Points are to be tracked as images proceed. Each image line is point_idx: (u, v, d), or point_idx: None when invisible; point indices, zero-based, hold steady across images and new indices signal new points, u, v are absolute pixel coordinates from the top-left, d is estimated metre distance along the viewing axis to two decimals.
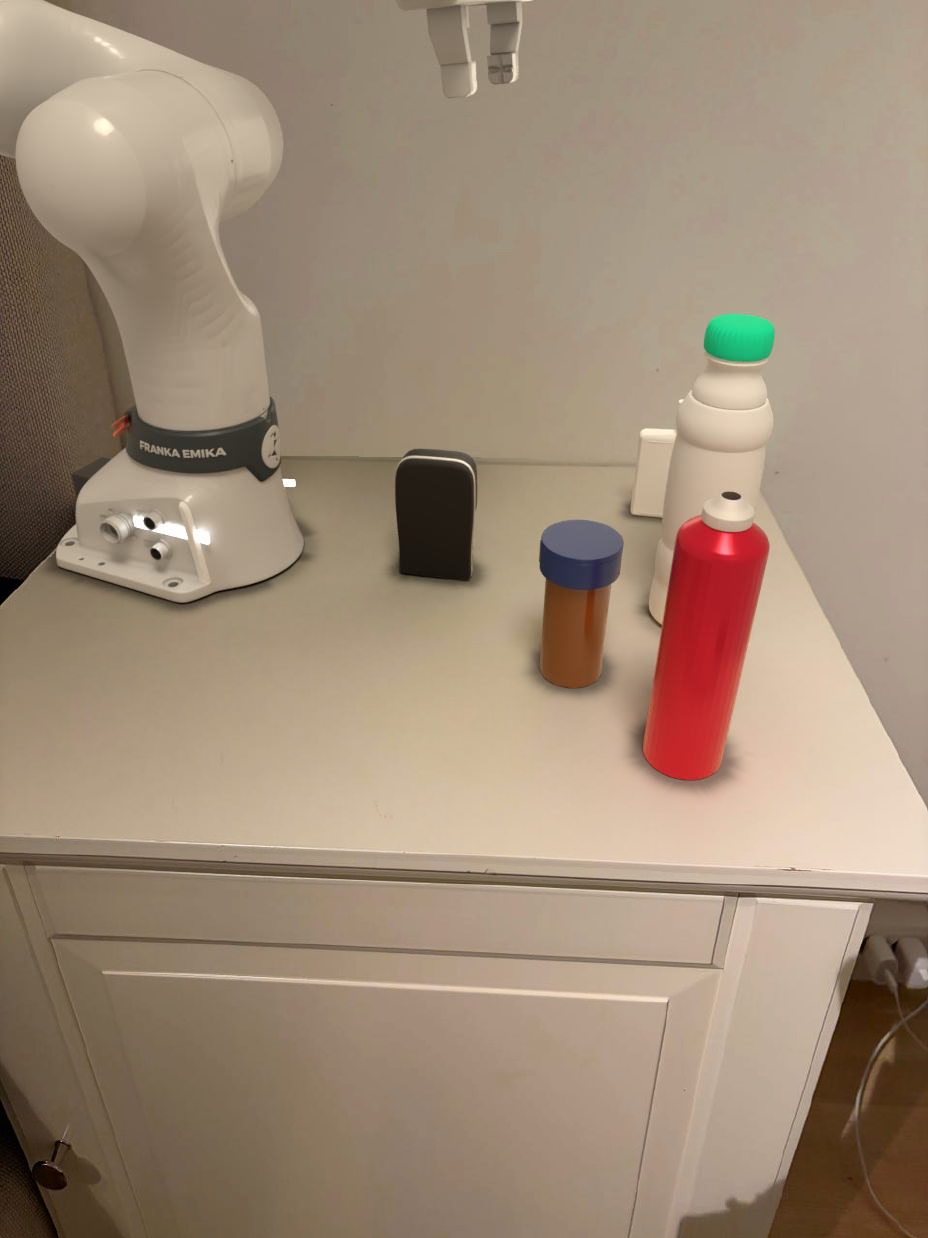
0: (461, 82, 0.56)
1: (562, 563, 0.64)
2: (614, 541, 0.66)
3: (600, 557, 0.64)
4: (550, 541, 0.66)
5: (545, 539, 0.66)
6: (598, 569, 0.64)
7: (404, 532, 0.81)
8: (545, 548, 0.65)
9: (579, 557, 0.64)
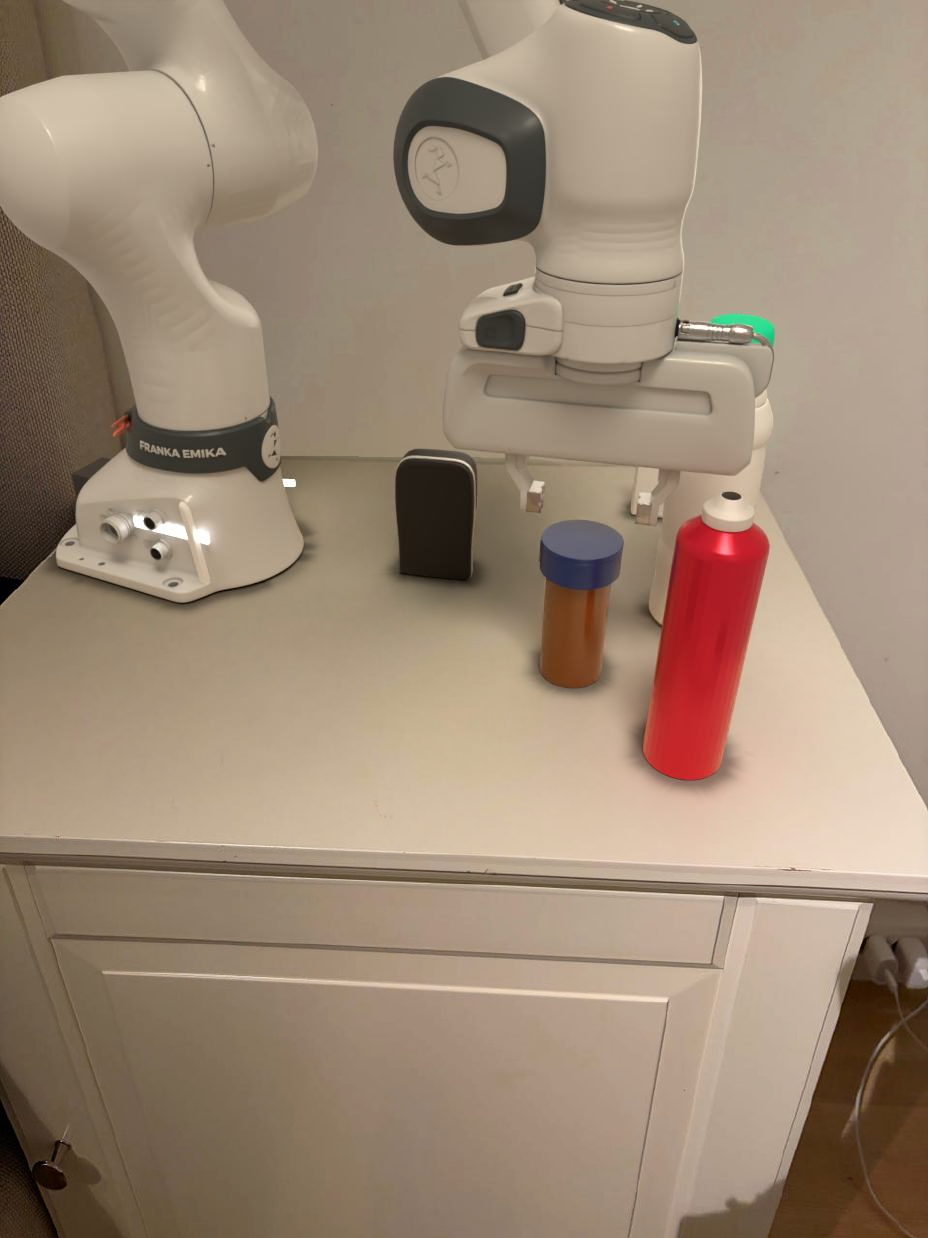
0: None
1: (562, 563, 0.64)
2: (614, 541, 0.66)
3: (600, 557, 0.64)
4: (550, 541, 0.66)
5: (545, 539, 0.66)
6: (598, 569, 0.64)
7: (404, 532, 0.81)
8: (545, 548, 0.65)
9: (579, 557, 0.64)
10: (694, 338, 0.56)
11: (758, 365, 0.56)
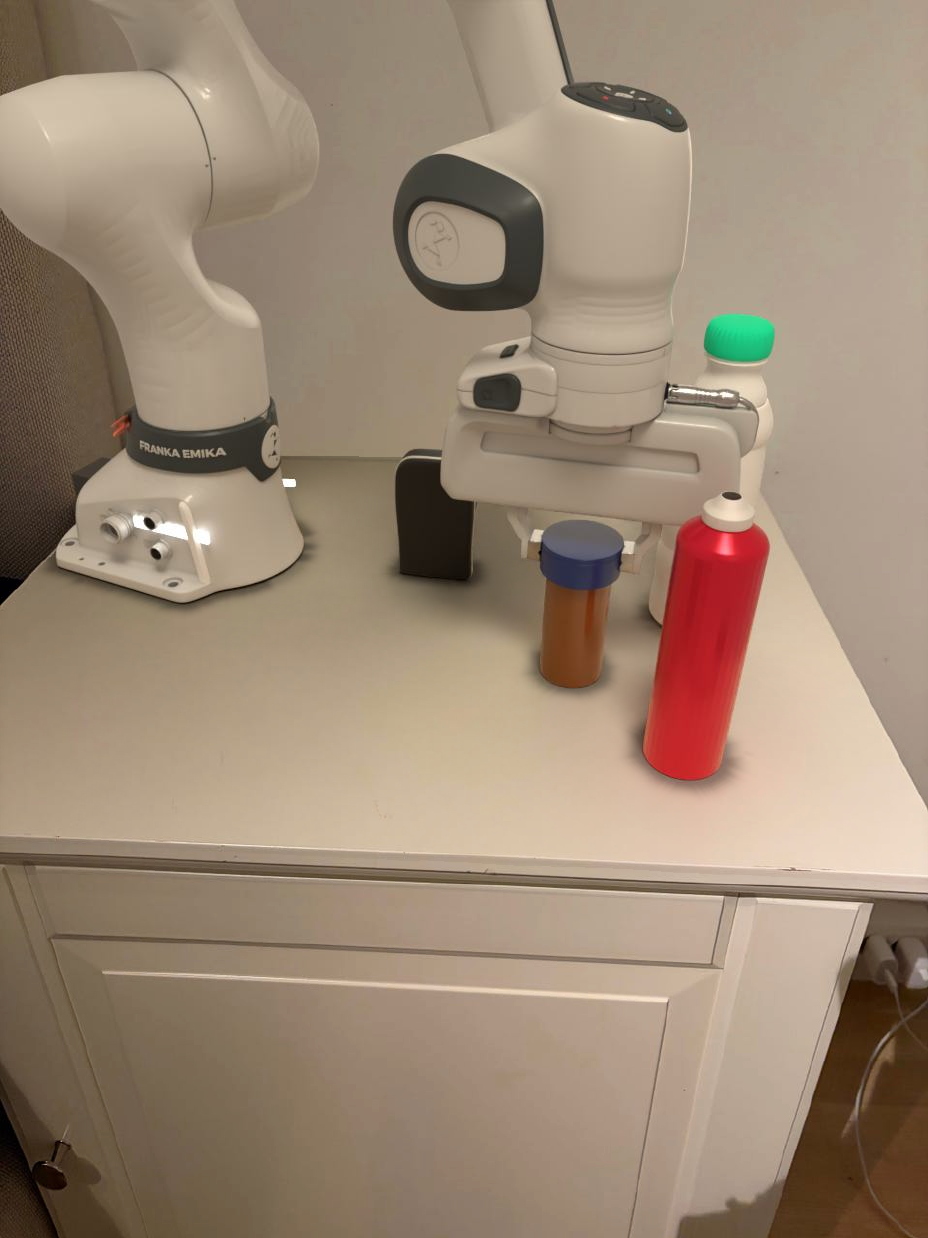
0: None
1: (562, 563, 0.64)
2: (614, 541, 0.66)
3: (601, 557, 0.64)
4: (550, 541, 0.66)
5: (545, 539, 0.66)
6: (598, 569, 0.64)
7: (404, 532, 0.81)
8: (545, 548, 0.65)
9: (579, 557, 0.64)
10: (682, 401, 0.59)
11: (744, 428, 0.59)
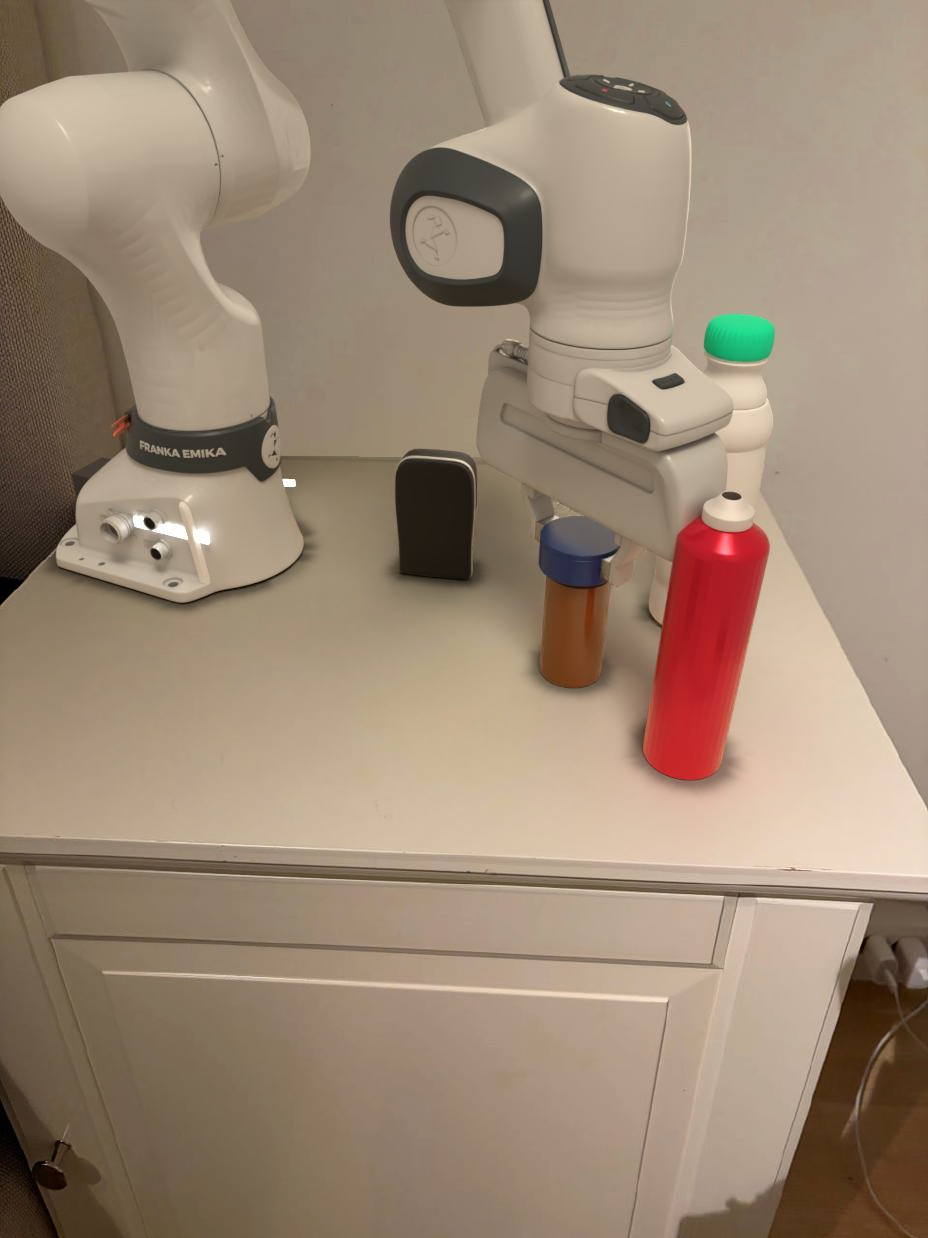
0: (627, 573, 0.64)
1: None
2: (557, 523, 0.67)
3: None
4: (612, 543, 0.65)
5: (614, 546, 0.65)
6: None
7: (404, 532, 0.81)
8: None
9: None
10: None
11: None
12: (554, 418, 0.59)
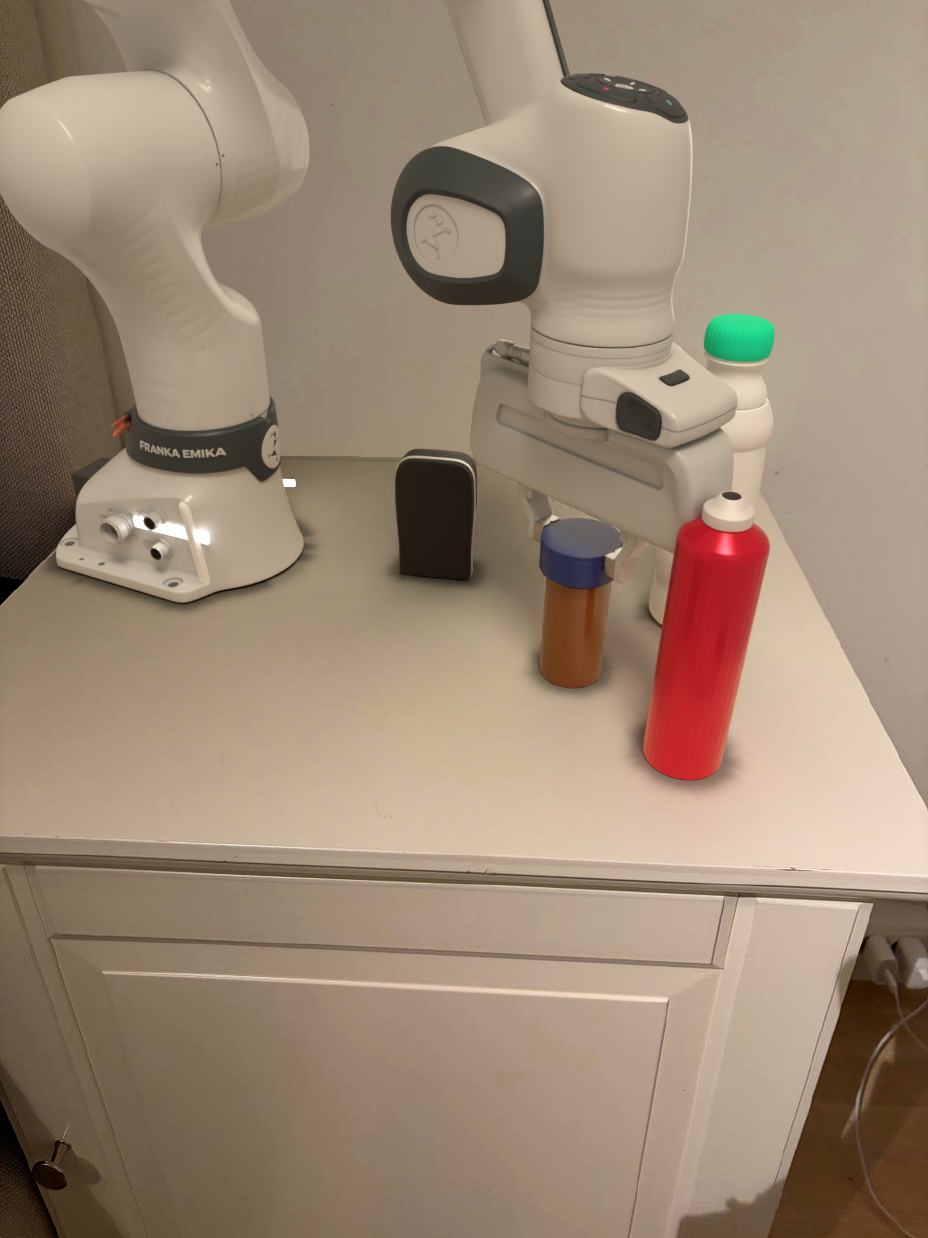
0: (631, 570, 0.64)
1: None
2: (555, 545, 0.65)
3: (546, 527, 0.67)
4: (600, 525, 0.68)
5: (606, 525, 0.68)
6: None
7: (404, 532, 0.81)
8: None
9: (561, 521, 0.68)
10: None
11: None
12: (558, 418, 0.59)
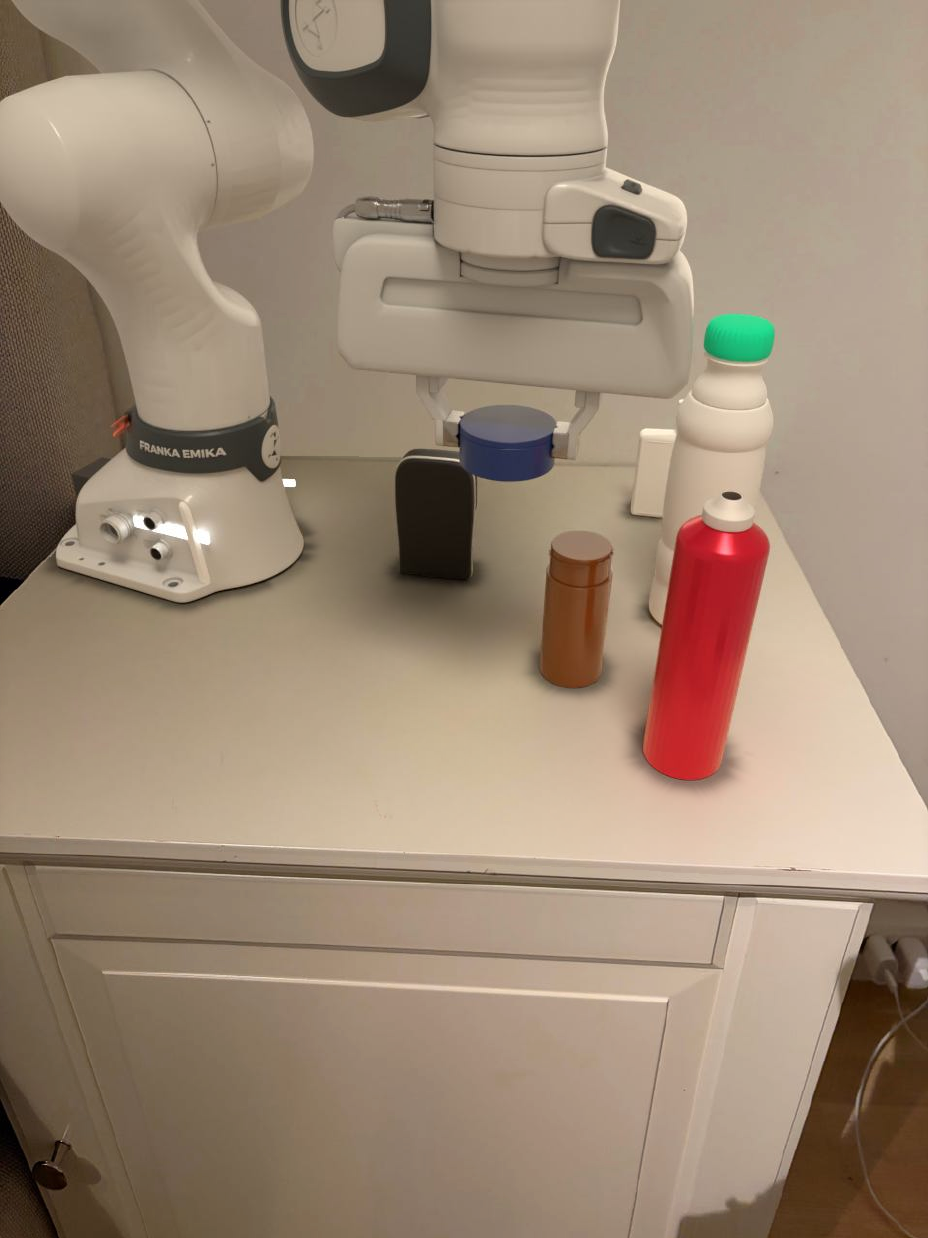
0: (578, 442, 0.56)
1: None
2: (492, 436, 0.54)
3: (461, 423, 0.56)
4: (512, 408, 0.58)
5: (517, 406, 0.58)
6: None
7: (404, 532, 0.81)
8: None
9: (469, 414, 0.57)
10: None
11: None
12: (497, 267, 0.48)
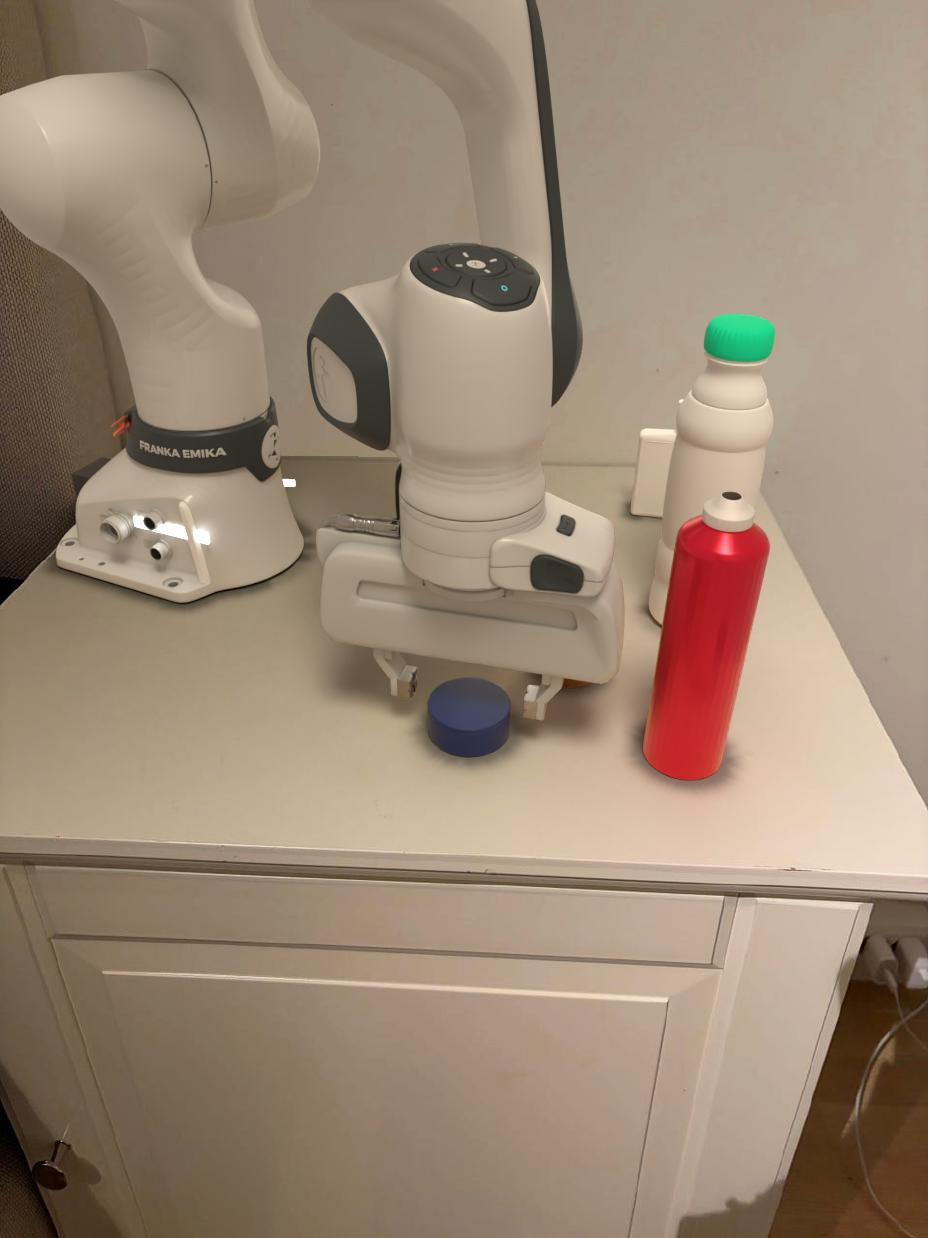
0: (546, 703, 0.64)
1: None
2: (454, 721, 0.64)
3: (429, 703, 0.65)
4: (473, 682, 0.67)
5: (478, 680, 0.67)
6: None
7: None
8: None
9: (436, 690, 0.66)
10: None
11: None
12: (453, 588, 0.56)
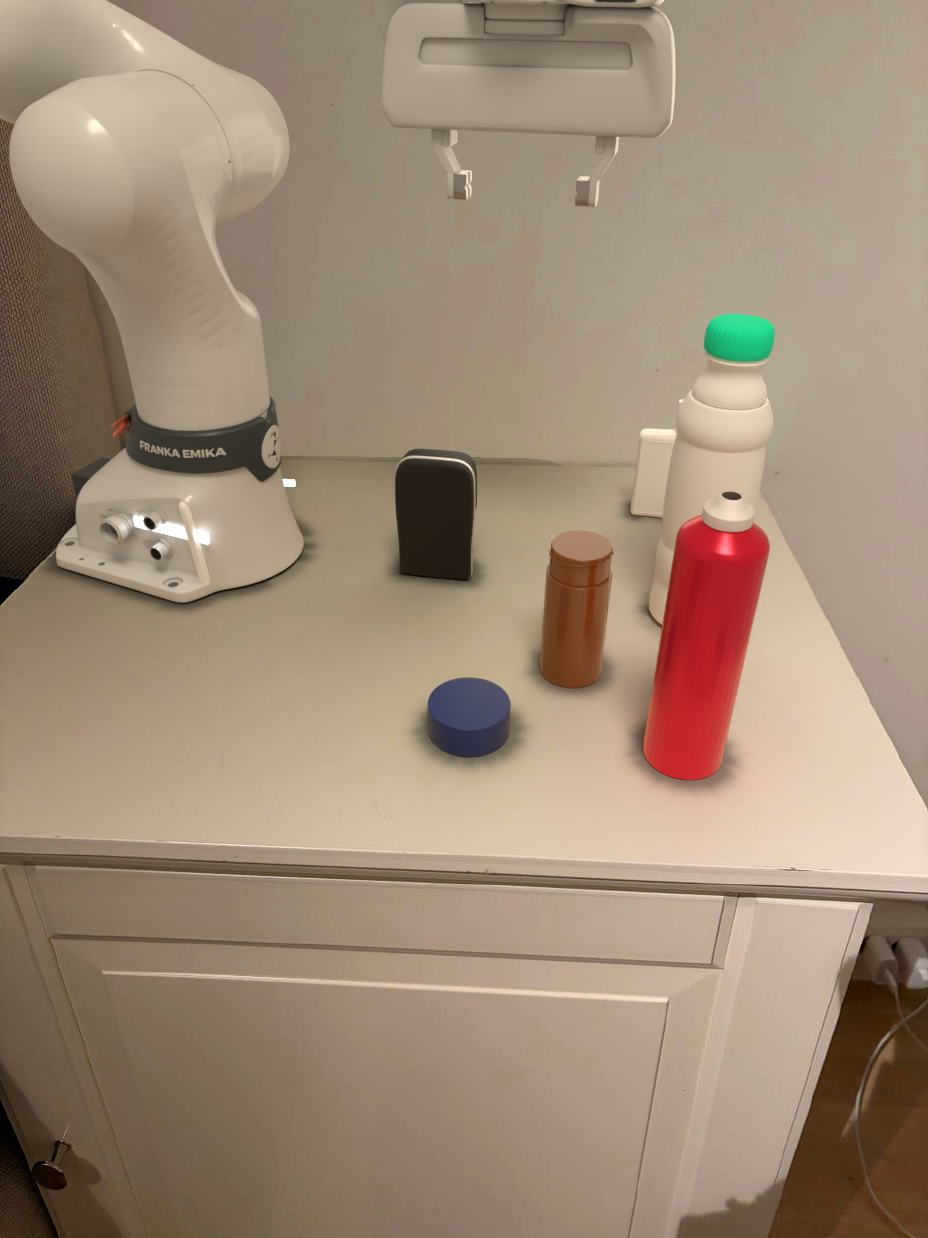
0: (597, 193, 0.67)
1: None
2: (454, 721, 0.64)
3: (429, 703, 0.65)
4: (473, 682, 0.67)
5: (478, 680, 0.67)
6: None
7: (404, 532, 0.81)
8: None
9: (436, 690, 0.66)
10: None
11: None
12: (515, 16, 0.59)
